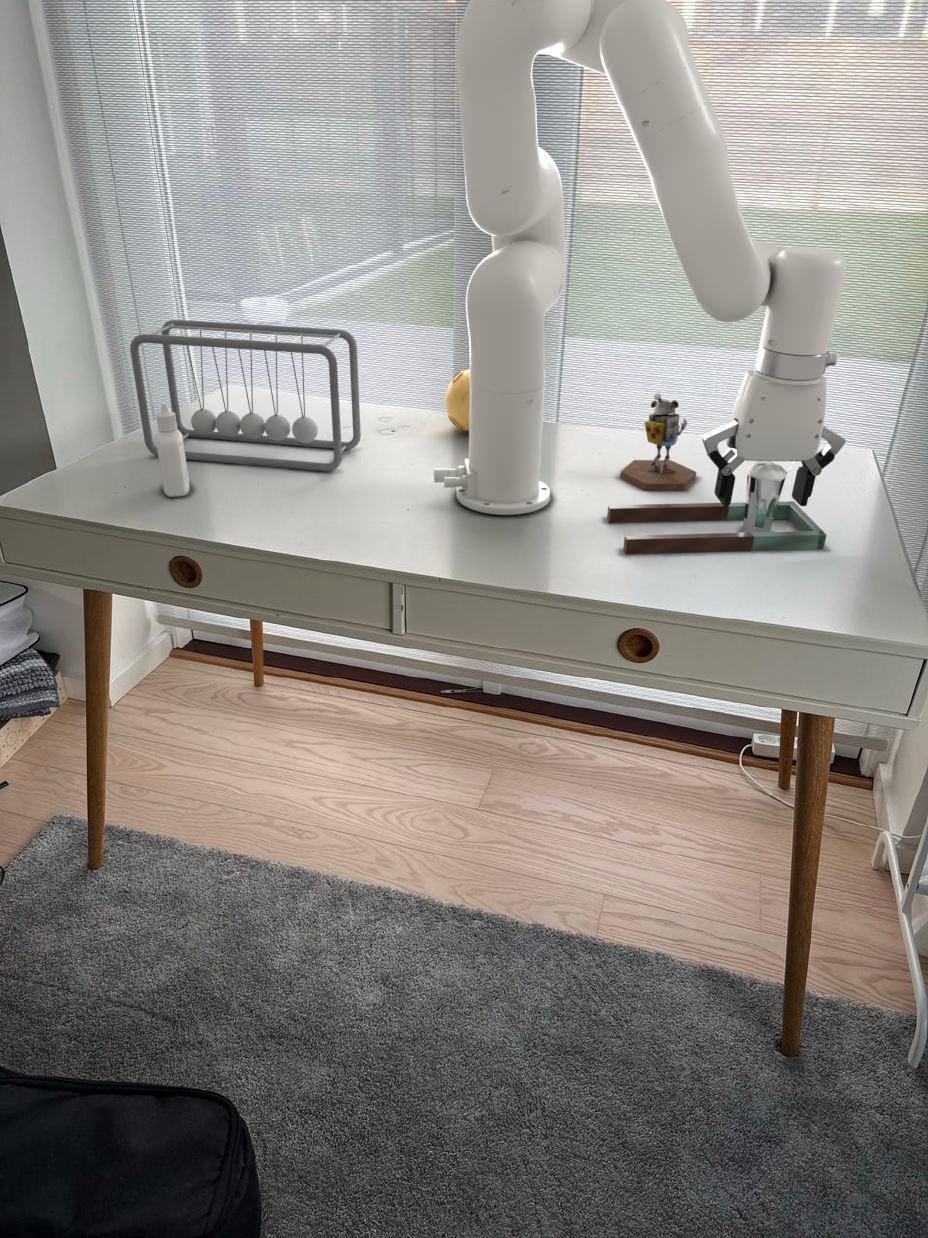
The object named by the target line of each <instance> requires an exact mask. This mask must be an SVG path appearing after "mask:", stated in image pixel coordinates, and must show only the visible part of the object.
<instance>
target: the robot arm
mask: <svg viewBox="0 0 928 1238" xmlns="http://www.w3.org/2000/svg"><path fill="white" fill-rule="evenodd" d="M460 21H461V22H460V25H459V30H458V35H457V43H456V77H457V85H458V86H457V87H458V97H459V111H460V128H461V129H460V131H461V142H462V143H461V144H462V155H463V169H464V183H465V196H466V199H465V200H466V206H467V209H468V214H469V215H470V217H471V219H472V222H473V223H474V224H475V226H476V227H477V228H479V230H481V231H482V232H484V233H485V234H488V235H490V236H491V244H492V252H491V253H490V254H488V255H487V256H486V257H485V258H484V259H482V260H481V261H480V262H479V263H478V264H477V266H476V267H475V269H474V270H473V272H472V274H471V276H470V278H469V281H468V283H467V288H466V295H465V313H466V321H467V322H466V323H467V331H468V332H467V333H468V343H469V369H470V414H469V431H468V458H465V459H464V465H457V467H456V468H447V467H437V468H436V467H434V468H433V483H436V484H439V483H443V488H456V499H457V501H458V502H459V503H460V504H461V505H463V506H464V507H466V508H468V509H470V510H472V511H475V512H479V513H483V514H487V515H488V514H489V515H495V516H497V515H498V516H516V515H517V516H518V515H524V514H529V513H534V512H536V511H539V510H540V509H543V508H544V507H545V506H548V503H549V502H550V500H551V489H550V487H549V486H548V485H547V484H546V483H545V482H543V481H541V480H540V479H541V478H540V477H541V462H542V461H541V460H542V444H543V442H542V441H543V427H544V426H543V425H544V408H545V407H544V406H545V405H544V404H545V388H546V384H545V382H546V365H547V363H546V362H547V360H546V359H547V347H546V332H545V331H546V330H545V329H546V325H545V324H546V314H547V313H548V312H549V311H550V310H552V308H554V306H555V305H556V304H557V303H558V301H559V300H560V298H561V296H562V294H563V292H564V289H565V285H566V277H567V254H566V234H565V233H566V232H565V229H566V228H565V208H564V192H563V182H562V179H561V175H560V172H559V169H558V167H557V164H556V163H555V161H554V159H553V158H552V157H551V155H550V154H549V153H547V152H546V151H545V150H544V149H543V148H542V147H539V138H538V136H539V135H538V125H537V118H538V117H537V99H536V92H535V86H534V80H533V66H534V61H535V59H536V57H537V55H539V54H541V55H549V56H552V57H555V58H558V59H561V60H563V61H566V62H569V63H572V64H574V65H577V66H580V67H582V68H583V69H584V68H585V69H586V70H590V71H592V72H595V73H598V74H600V75H603V76H606V77H607V80H608V82H609V84H610V87H611V89H612V91H613V94H614V96H615V98H616V101H617V104H618V105H619V108H620V111H621V112H622V115H623V117H624V119H625V121H626V124H627V126H628V129H629V131H630V133H631V135H632V138H633V140H634V143H635V145H636V148H637V150H638V152H639V155H640V158H641V159H642V162H643V164H644V167H645V169H646V172H647V174H648V177H649V181H650V183H651V184H650V185H651V188H652V191H653V194H654V197H655V200H656V202H657V204H658V206H659V210H660V212H661V215H662V218H663V221H664V224H665V227H666V230H667V233H668V235H669V239H670V242H671V244H672V246H673V249H674V252H675V254H676V257H677V259H678V261H679V264H680V266H681V268H682V270H683V273H684V275H685V278H686V280H687V283H688V285H689V287H690V289H691V291H692V293H693V296H694V298H695V300H696V302H697V303H698V306H699V307H700V308H701V309H702V310H703V312H704V313H705V314H706V315H708V316H709V317H710V318H711V319H714V320H716V321H719V322H723V323H737V322H740V321H743V320H746V319H748V318H749V317H751V316H752V315H754V314H755V313H756V312H757V311H758V310H759V309H760V308H761V307H763V308H764V311H765V312H764V317H763V323H762V329H761V333H760V339H759V345H758V349H757V354H756V359H755V365H754V369H748V370H747V371H746V372H745V375H744V377H743V379H742V382H741V385H740V388H739V390H738V392H737V396H736V399H735V402H734V405H733V409H732V412H731V416H730V420H729V422H728V423H726V424H724V425H721V426H719V427H717V428H715V429H712V430H711V431H709V432H706V433H704V434H703V435H702V437H701V440H702V443H703V446H704V449H705V451H706V455H707V457H708V458H709V459H710V460H711V461H712V463H713V464H714V465H715V466H716V468H717V469H718V470H717V475H716V481H715V485H714V486H715V487H714V495H715V497H716V499H718V501H719V503H722V505H723V506H729V505H730V504H731V503H732V498H733V493H734V487H735V483H736V475H735V474H734V472H735V471H736V470H737V469H738V468H739V467H740V465H742V464H743V463H744V462H745V461H746V462H767V461H769V462H794V461H795V462H800V463H801V464H802V466H799V467H798V468H797V470H796V474H795V478H794V483H793V486H792V491H791V498H792V499H793V500H794V502H795V503H796V504H797V505H798V506H799V507H806V506H808V501H809V498H810V497H811V496H812V495H813V491H814V490H813V489H814V485H815V481H816V477H817V476H820V475H821V474H822V472H823V471H822V470H824V468H826V467H828V465H830V464H831V463H832V462H833V461H834V460H835V457H836V455H838V453H839V452H840V451H841V449H842V448H843V447H844V445H845V444H846V442H847V440H846V438H844V437H843V436H842V435H841V434H839V433H837V432H835V431H834V430H832V429H831V428H829V427H828V426H826V425H825V424H824V423H825V416H826V408H827V407H826V406H827V378H826V377H825V376H824V375H825V373H826V369H827V368H829V367H834V366H836V365H837V361H838V356H837V354H835V353H830V351H829V349H830V343H831V339H832V335H833V331H834V326H835V323H836V318H837V313H838V308H839V304H840V299H841V295H842V291H843V287H844V282H845V278H846V274H847V268H848V267H847V259H846V257H845V256H844V255H843V254H842V253H840V252H838V251H836V250H832V249H828V248H822V247H812V246H795V247H794V246H793V247H788V246H787V247H786V246H782V245H777V244H772V243H767V242H764V241H760V240H755V239H753V238H752V235H751V234H750V230H749V228H748V226H747V223H746V221H745V218H744V215H743V213H742V210H741V207H740V204H739V202H738V198H737V195H736V192H735V187H734V184H733V180H732V176H731V172H730V163H729V153H728V146H727V141H726V137H725V134H724V131H723V128H722V125H721V122H720V120H719V118H718V115H717V113H716V111H715V108H714V105H713V103H712V102H711V99H710V96H709V94H708V92H707V89H706V87H705V84H704V82H703V79H702V76H701V74H700V71H699V69H698V66H697V64H696V61H695V57H694V55H693V53H692V50H691V48H690V36H689V28H688V25H687V22H686V20H685V17H684V16H683V14H682V13H681V12H680V10H679V9H678V8H677V7H676V6H675V5H674V4H672V3H670V2H669V1H668V0H469V2H468V4H467V6H466V8H465V10H464V13H463V15H462V18H461V20H460ZM822 439H824V440H825V441H827V443H826V445H825V447H824V448H822V449H820V445H821V440H822ZM724 441H725V443H726V446H727V447H728V448H727V450H726V451H725V452H723V454H721V453H720V450H719V446H718V445H720V443H721V442H724ZM819 449H820V451H819Z"/></svg>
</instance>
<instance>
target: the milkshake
mask: <svg viewBox="0 0 928 1238" xmlns="http://www.w3.org/2000/svg"><path fill="white" fill-rule="evenodd" d="M795 463H796V461H792V464H791V465H790V467H789V468H787V471H786V469H785V468H784V467H783V465H780V464H777V463H775V462H773V461H755V462H753V463H752V464H751V465H750V466H749V467H748V469H747V476H746V489H745V490H746V491H745V501H744V502H745V511H744V520H743V523H742V525H743V526H742V533H749V532H751V533H753V532H772V531H771V530H772V526H773V523H774V521H775V519H774V516H775V512H776V509H777V505H778V502H780V497H781V494H782V491H783V488H784V486H785V485H784V484H785V481H786V478H787V474H788V473H789V472H790V470H791V469H792V467H793V466H794V465H795Z"/></svg>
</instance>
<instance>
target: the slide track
mask: <svg viewBox="0 0 928 1238" xmlns="http://www.w3.org/2000/svg"><path fill="white" fill-rule="evenodd" d="M744 511H745V501H743V502H741V501H740V502H731V504H730V505H729V506H723V505H722V503H721V502H699V503H698V502H697V503H695V502H694V503H692V502H691V503H653V504H652V503H650V504H649V503H647V504H646V503H645V504H608V505H607V514H606V521H607V522H608V524H625V523H629V524H633V523H669V522H670V523H672V522H673V523H674V522H713V521H714V522H717V521H719V522H720V521H721V522H722V521H744ZM812 519H813V518H811V517H810V516H809V515H808V514H807V513H806V512H805V511H804V510H803V509H802V508H801V506H800V505H799V504H798V503H797V502H796V501H795V500H794V501H793V500H792V501H791V500H790V501H778V505H777V509H776V512H775V516H774V520H788V522H789V523H790V524H791V525H792V526H793V527H794V528H795V529H796V531H770V532H753V533H751V532H749V533H744V532H713V533H712V532H710V533H670V534H669V533H667V534H630V535H629V534H628V535H627V534H626V535H624V540H623V549H622V552H623V553H624V555H657V554H658V555H659V554H660V555H661V554H663V555H664V554H665V555H666V554H699V553H706V554H707V553H741V552H742V553H743V552H745V553H746V552H775V551H776V552H777V551H779V552H780V551H816V550H817V551H819V550H824V549H825V544H826V539H827V534H826V532H825V531H824V530H823V529H822V528H821V527H820V526H819V525H818V524H817V523H816V522H815V521H814V520H812Z"/></svg>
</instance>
